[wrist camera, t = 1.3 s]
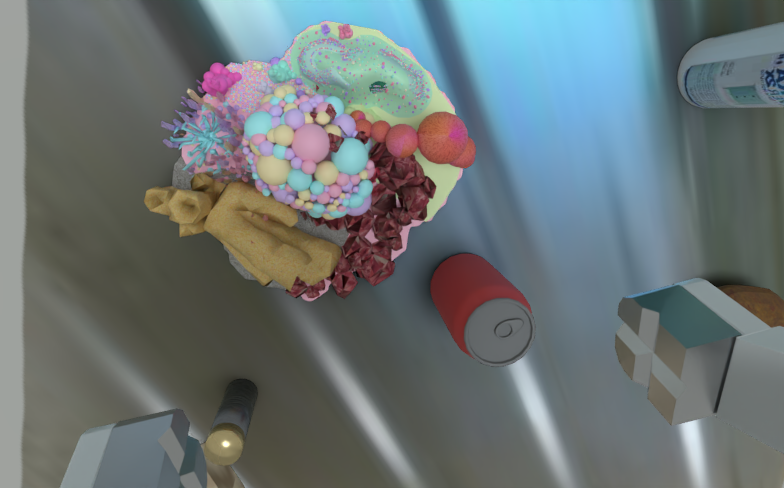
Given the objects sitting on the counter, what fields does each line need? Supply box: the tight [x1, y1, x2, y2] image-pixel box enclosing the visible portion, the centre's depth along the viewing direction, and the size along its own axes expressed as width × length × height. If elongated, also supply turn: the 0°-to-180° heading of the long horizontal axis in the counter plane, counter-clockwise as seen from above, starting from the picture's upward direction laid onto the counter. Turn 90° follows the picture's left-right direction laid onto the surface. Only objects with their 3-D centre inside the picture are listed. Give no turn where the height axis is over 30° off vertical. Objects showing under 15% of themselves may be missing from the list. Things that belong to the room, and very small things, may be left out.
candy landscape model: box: [144, 21, 476, 301], centre depth 42 cm, size 25×24×9 cm
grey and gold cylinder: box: [204, 379, 258, 466], centre depth 46 cm, size 3×3×9 cm
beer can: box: [430, 254, 536, 367], centre depth 45 cm, size 7×7×12 cm
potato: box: [717, 285, 784, 328], centre depth 51 cm, size 7×12×7 cm, turn 73°
